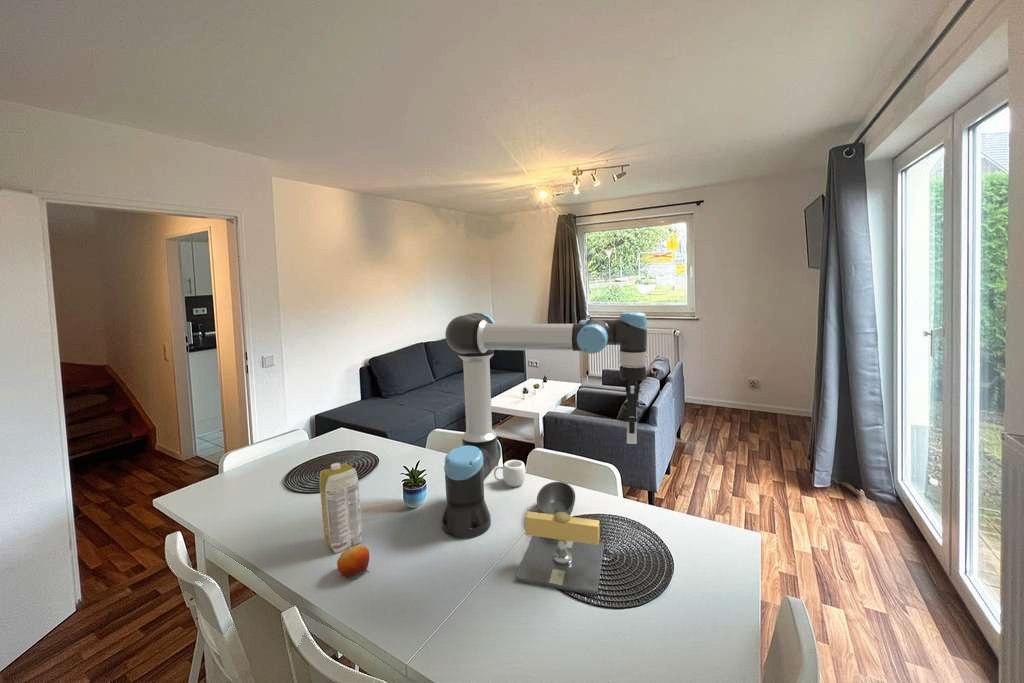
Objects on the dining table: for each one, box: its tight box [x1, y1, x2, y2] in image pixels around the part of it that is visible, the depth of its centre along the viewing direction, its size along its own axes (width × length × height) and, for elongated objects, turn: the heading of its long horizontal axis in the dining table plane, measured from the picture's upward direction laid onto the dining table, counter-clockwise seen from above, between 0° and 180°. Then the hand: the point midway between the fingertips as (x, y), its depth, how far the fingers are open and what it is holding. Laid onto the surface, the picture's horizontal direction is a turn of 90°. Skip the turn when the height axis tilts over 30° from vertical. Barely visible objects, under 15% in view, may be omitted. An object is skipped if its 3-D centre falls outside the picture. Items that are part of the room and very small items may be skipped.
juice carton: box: [319, 462, 363, 554], centre depth 124 cm, size 9×8×24 cm
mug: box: [493, 459, 526, 488], centre depth 160 cm, size 12×8×8 cm
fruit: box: [336, 544, 370, 580], centre depth 112 cm, size 8×8×8 cm
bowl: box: [536, 481, 576, 516], centre depth 138 cm, size 12×22×6 cm, turn 169°
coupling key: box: [525, 511, 600, 545], centre depth 113 cm, size 19×4×6 cm, turn 73°
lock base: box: [515, 536, 605, 597], centre depth 114 cm, size 20×20×7 cm
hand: (632, 435), depth 129 cm, fingers open, 13 cm apart
